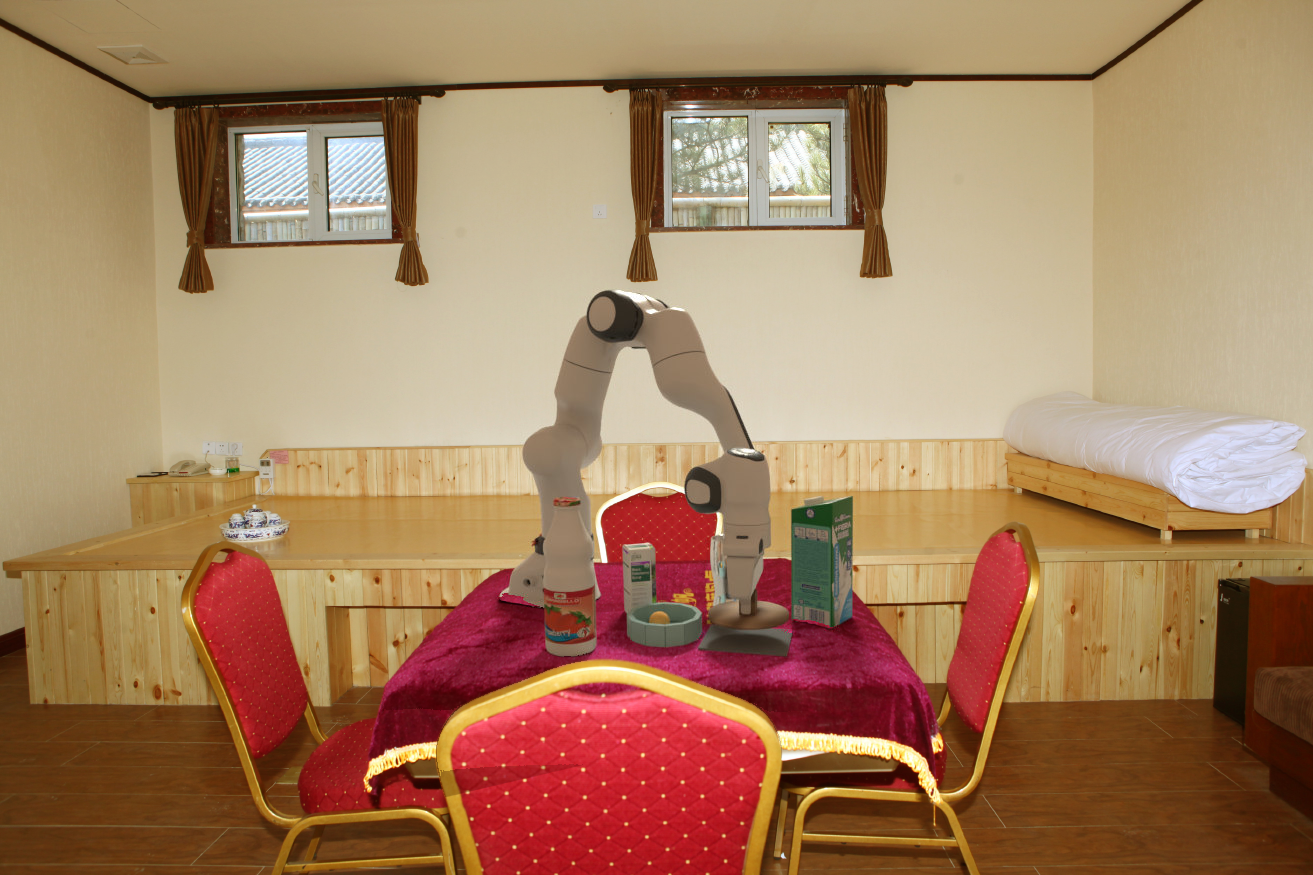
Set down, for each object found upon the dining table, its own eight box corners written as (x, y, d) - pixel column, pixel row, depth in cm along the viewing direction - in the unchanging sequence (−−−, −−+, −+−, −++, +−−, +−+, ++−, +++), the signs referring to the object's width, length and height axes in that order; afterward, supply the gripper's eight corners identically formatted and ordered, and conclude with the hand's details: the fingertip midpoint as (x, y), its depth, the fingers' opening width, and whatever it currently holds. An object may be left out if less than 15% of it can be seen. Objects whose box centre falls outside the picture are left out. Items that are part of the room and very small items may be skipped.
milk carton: (812, 608, 166) (812, 491, 164) (852, 617, 160) (853, 495, 158) (791, 620, 159) (790, 497, 157) (832, 629, 153) (832, 502, 151)
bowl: (619, 643, 148) (618, 622, 147) (639, 619, 161) (639, 600, 161) (692, 649, 144) (692, 627, 144) (707, 624, 158) (707, 604, 157)
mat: (698, 649, 144) (698, 647, 144) (711, 626, 156) (711, 624, 156) (786, 656, 140) (786, 654, 140) (793, 631, 152) (793, 629, 152)
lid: (701, 627, 142) (700, 601, 142) (715, 602, 157) (715, 578, 156) (785, 632, 139) (785, 605, 138) (792, 606, 153) (792, 582, 153)
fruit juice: (605, 642, 148) (601, 495, 146) (582, 660, 140) (578, 504, 137) (560, 637, 152) (556, 493, 149) (536, 654, 143) (530, 501, 140)
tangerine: (653, 639, 151) (643, 625, 150) (656, 623, 155) (646, 610, 153) (672, 634, 150) (662, 619, 148) (674, 618, 153) (665, 604, 152)
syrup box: (630, 619, 162) (628, 549, 160) (623, 610, 167) (622, 543, 166) (657, 616, 163) (655, 547, 162) (649, 607, 169) (648, 541, 167)
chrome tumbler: (742, 612, 164) (741, 541, 163) (708, 611, 166) (707, 540, 164) (745, 602, 171) (744, 534, 170) (713, 601, 173) (712, 533, 171)
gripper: (738, 524, 157) (739, 592, 158) (720, 548, 137) (722, 625, 139) (770, 525, 155) (770, 593, 157) (757, 549, 136) (758, 628, 137)
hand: (747, 609), depth 147 cm, fingers closed on lid, 3 cm apart
